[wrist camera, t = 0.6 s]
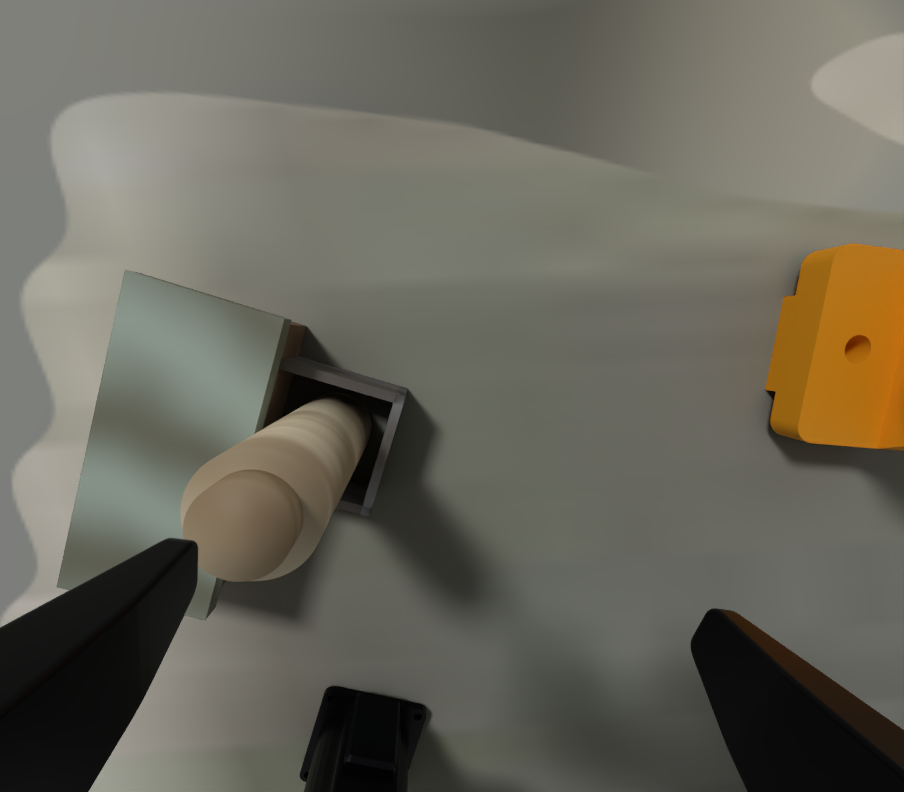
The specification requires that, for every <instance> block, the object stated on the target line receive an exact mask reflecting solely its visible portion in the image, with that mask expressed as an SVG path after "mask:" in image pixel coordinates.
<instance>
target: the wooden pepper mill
mask: <svg viewBox="0 0 904 792" xmlns="http://www.w3.org/2000/svg"><path fill="white" fill-rule="evenodd" d="M371 430H372V425H371V419H370V416H369V413H368V411H367V410H366V408H365V407H364V406H363V404H362V403H361V402H359V401H358V400H357V399H355V398H354V397H352V396H350V395H347V394H344V393H337V392H334V393H326V394H323V395H321V396H318V397H317V398H315V399H313V400H312V401H310V402H308V403H306V404H305V405H303V406H301V407H300V408H298V409H296V410H295V411H293V412H291V413H289V414H288V415H286V416H284V417H283V418H281V419H279V420H278V421H276V422H274V423H272V424H271V425H269V426H267V427H266V428H264V429H262V430H261V431H259V432H257V433H255V434H254V435H252V436H250V437H249V438H247V439H245V440H244V441H242V442H240V443H238V444H237V445H235V446H233V447H232V448H230V449H228V450H227V451H225V452H223V453H221V454H220V455H218V456H216V457H215V458H213V459H211V460H210V461H208V462H207V463H205V464H204V465H203V466H202V467H201V468H200V469H199V470H198V471H197V472H196V473H195V474H194V475H193V477H192V478H191V479H190V481H189V482H188V484H187V487H186V489H185V491H184V494H183V497H182V501H181V508H180V517H181V525H182V529H183V538H184V539H187V540H193V541H195V542H196V543H197V545H198V566H199V567H200V568H202V569H203V570H204V571H206V572H207V573H209V574H211V575H212V576H215V577H217V578H220V579H223V580H227V581H232V582H247V581H265V580H270V579H275V578H278V577H281V576H283V575H286V574H288V573H290V572H292V571H293V570H295V569H297V568H298V567H299V566H300V565H302V564H303V563H304V562H305V561H306V560H307V559H308V558H309V557H310V556H311V554H312V553H313V552H314V550H315V549H316V547H317V545H318V543H319V541H320V539H321V537H322V535H323V533H324V531H325V529H326V527H327V525H328V523H329V521H330V519H331V517H332V515H333V513H334V511H335V509H336V507H337V505H338V503H339V500H340V498H341V496H342V494H343V492H344V490H345V488H346V486H347V484H348V482H349V480H350V478H351V476H352V474H353V472H354V470H355V468H356V466H357V464H358V462H359V460H360V458H361V456H362V454H363V452H364V450H365V448H366V446H367V444H368V442H369V439H370V436H371Z"/></svg>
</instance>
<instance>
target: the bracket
mask: <svg viewBox="0 0 904 792" xmlns="http://www.w3.org/2000/svg"><path fill="white" fill-rule="evenodd" d="M765 390H769V391H776V393H775V398H774V403H773V408H772V413H771V418H770V423H771V427H772V429H773V430H774V431H775V432H776V433H777V434H779V435H782V436H786V437H790V438H793V439H797V440H801V441H804V442H808V443H815V444H827V445H839V446H851V447H863V448H875V449H887V450H899V451H904V250H899V249H891V248H883V247H876V246H868V245H861V244H847V245H843V246H838V247H833V248H829V249H824V250H820V251H815V252H812V253H811V254H809V255H808V256H807V257H806V258H805V259H804V261H803V263H802V266H801V270H800V275H799V280H798V285H797V290H796V295H794V296H785V297H784V298H783V303H782V308H781V313H780V318H779V323H778V329H777V334H776V339H775V344H774V349H773V354H772V359H771V364H770V369H769V374H768V379H767V384H766V389H765Z"/></svg>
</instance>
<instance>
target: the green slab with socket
mask: <svg viewBox="0 0 904 792" xmlns="http://www.w3.org/2000/svg"><path fill="white" fill-rule="evenodd" d="M306 327H307V326H304V325H301V324H298V323H294V322H291V320H290V319H287V318H284V317H281V316H277V315H274V314H271V313H268V312H264V311H261V310H258V309H255V308H251V307H248V306H245V305H242V304H238V303H235V302H232V301H229V300H225V299H222V298H219V297H216V296H213V295H209V294H206V293H203V292H200V291H196V290H193V289H190V288H187V287H183V286H180V285H177V284H174V283H170V282H167V281H164V280H161V279H157V278H154V277H151V276H148V275H144V274H141V273H137V272H132V271H128V270H125V272H124V276H123V281H122V286H121V290H120V295H119V300H118V304H117V309H116V314H115V318H114V323H113V327H112V332H111V337H110V341H109V346H108V351H107V355H106V360H105V365H104V369H103V374H102V379H101V383H100V388H99V393H98V397H97V402H96V407H95V411H94V416H93V420H92V425H91V430H90V434H89V439H88V444H87V448H86V453H85V458H84V462H83V467H82V472H81V476H80V481H79V486H78V490H77V495H76V500H75V504H74V509H73V513H72V518H71V523H70V527H69V532H68V537H67V541H66V546H65V551H64V555H63V560H62V565H61V569H60V574H59V579H58V583H57V587H58V588H63V589H67V590H71V589H73V588H75V587H77V586H78V585H80V584H82V583H84V582H86V581H88V580H90V579H92V578H93V577H95V576H97V575H99V574H101V573H103V572H105V571H106V570H108V569H110V568H112V567H114V566H116V565H118V564H119V563H121V562H123V561H125V560H127V559H129V558H131V557H132V556H134V555H136V554H138V553H140V552H142V551H144V550H145V549H147V548H149V547H151V546H153V545H155V544H157V543H158V542H160V541H162V540H164V539H167V538H179V539H184V538H183V529H182V525H181V517H180V508H181V501H182V497H183V494H184V491H185V489H186V487H187V484H188V482H189V481H190V479H191V478H192V477H193V475H194V474H195V473H196V472H197V471H198V470H199V469H200V468H201V467H202V466H203V465H204V464H205V463H207V462H208V461H210V460H211V459H213V458H215V457H216V456H218V455H220V454H221V453H223V452H225V451H227V450H228V449H230V448H232V447H233V446H235V445H237V444H238V443H240V442H242V441H244V440H245V439H247V438H249V437H250V436H252V435H254V434H255V433H257V432H259V431H261V430H262V429H264V428H266V427H267V426H269V425H271V424H272V423H274V422H276V421H278V420H279V419H281V418H282V417H283V413H284V409H285V405H286V402H287V398H288V394H289V390H290V387H291V383H292V379H293V376H294V374H298V375H301V376H304V377H308V378H311V379H315V380H318V381H321V382H325V383H328V384H332V385H335V386H338V387H342V388H345V389H349V390H352V391H355V392H359V393H362V394H365V395H369V396H372V397H376V398H379V399H382V400H386V401H389V402H393V406H392V409H391V412H390V416H389V419H388V422H387V426H386V429H385V432H384V436H383V439H382V443H381V446H380V449H379V453H378V456H377V459H376V463H375V466H374V469H373V473H372V476H371V479H370V483H369V485H366V484H363V483H359V482H355V481H352V480H349V482H348V484H347V486H346V488H345V490H344V492H343V494H342V496H341V498H340V500H339V503H338V505H337V507H336V509H340V510H344V511H347V512H351V513H355V514H359V515H363V516H367V517H370V513H371V510H372V507H373V503H374V500H375V497H376V494H377V490H378V487H379V484H380V480H381V477H382V474H383V470H384V467H385V464H386V460H387V457H388V454H389V451H390V447H391V444H392V441H393V437H394V434H395V431H396V427H397V424H398V421H399V417H400V414H401V411H402V407H403V404H404V401H405V398H406V394H407V390H408V389H407V388H404V387H400V386H397V385H394V384H390V383H387V382H384V381H380V380H377V379H374V378H370V377H367V376H364V375H360V374H357V373H354V372H350V371H347V370H344V369H340V368H337V367H334V366H330V365H327V364H324V363H320V362H317V361H314V360H310V359H307V358H304V357H300V356H299V353H300V350H301V346H302V342H303V338H304V335H305V331H306ZM225 581H226V580H223V579H220V578H217V577H215V576H212V575H211V574H209V573H207V572H206V571H204V570H203V569H202V568H200V567H199V566H198V581H197V587H196V590H195V593H194V596H193V598H192V600H191V602H190V604H189V606H188V608H187V611H186V613H185V615H184V616H189V617H193V618H198V619H202V620H206V619H207V617H208V616H209V615H210V614H211V612H212V611H213V610H214V608H215V607H216V604H217V600H218V596H219V592H220V588H221V587H222V585H223V584H224V583H225Z"/></svg>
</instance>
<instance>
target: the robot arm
mask: <svg viewBox="0 0 904 792" xmlns="http://www.w3.org/2000/svg"><path fill="white" fill-rule="evenodd" d="M197 581H198V545H197V543H196V542H195V541H193V540H187V539H179V538H167V539H164V540H162V541H160V542H158V543H157V544H155V545H153V546H151V547H149V548H147V549H145V550H144V551H142V552H140V553H138V554H136V555H134V556H132V557H131V558H129V559H127V560H125V561H123V562H121V563H119V564H118V565H116V566H114V567H112V568H110V569H108V570H106V571H105V572H103V573H101V574H99V575H97V576H95V577H93V578H92V579H90V580H88V581H86V582H84V583H82V584H80V585H78V586H77V587H75V588H73V589H71V590H69V591H67V592H65V593H64V594H62V595H60V596H58V597H56V598H54V599H52V600H51V601H49V602H47V603H45V604H43V605H41V606H39V607H38V608H36V609H34V610H32V611H30V612H28V613H26V614H25V615H23V616H21V617H19V618H17V619H15V620H13V621H12V622H10V623H8V624H6V625H4V626H2V627H0V792H88V791H89V790H90V788H91V786H92V785H93V783H94V781H95V780H96V778H97V776H98V775H99V773H100V771H101V770H102V768H103V766H104V765H105V763H106V761H107V760H108V758H109V756H110V755H111V753H112V751H113V750H114V748H115V746H116V745H117V743H118V742H119V740H120V738H121V737H122V735H123V733H124V732H125V730H126V728H127V727H128V725H129V723H130V722H131V720H132V718H133V716H134V715H135V713H136V711H137V709H138V708H139V706H140V704H141V702H142V700H143V699H144V697H145V695H146V693H147V691H148V689H149V687H150V685H151V683H152V681H153V679H154V677H155V674H156V672H157V670H158V668H159V666H160V664H161V662H162V660H163V658H164V656H165V654H166V652H167V650H168V648H169V646H170V644H171V641H172V639H173V637H174V635H175V633H176V631H177V629H178V627H179V625H180V623H181V621H182V619H183V617H184V615H185V613H186V611H187V608H188V606H189V604H190V602H191V600H192V598H193V596H194V593H195V590H196V587H197ZM691 652H692V656H693V658H694V661H695V664H696V666H697V669H698V672H699V674H700V677H701V680H702V682H703V685H704V687H705V690H706V693H707V695H708V698H709V701H710V703H711V706H712V709H713V711H714V714H715V717H716V719H717V722H718V725H719V727H720V730H721V732H722V735H723V738H724V740H725V743H726V745H727V748H728V750H729V752H730V755H731V757H732V759H733V761H734V764H735V766H736V768H737V770H738V772H739V775H740V777H741V779H742V781H743V783H744V785H745V788H746V790H747V792H904V730H903V729H901V728H900V727H899V726H897V725H896V724H894V723H893V722H891V721H890V720H889V719H887V718H886V717H884V716H883V715H881V714H880V713H879V712H877V711H876V710H874V709H873V708H872V707H870V706H869V705H867V704H866V703H864V702H863V701H862V700H860V699H859V698H857V697H856V696H854V695H853V694H852V693H850V692H849V691H847V690H846V689H844V688H843V687H842V686H840V685H839V684H837V683H836V682H835V681H833V680H832V679H830V678H829V677H827V676H826V675H825V674H823V673H822V672H820V671H819V670H817V669H816V668H815V667H813V666H812V665H810V664H809V663H808V662H806V661H805V660H803V659H802V658H800V657H799V656H798V655H796V654H795V653H793V652H792V651H790V650H789V649H788V648H786V647H785V646H783V645H782V644H780V643H779V642H778V641H776V640H775V639H773V638H772V637H771V636H769V635H768V634H766V633H765V632H763V631H762V630H761V629H759V628H758V627H756V626H755V625H753V624H752V623H751V622H749V621H748V620H746V619H745V618H743V617H742V616H741V615H739V614H738V613H736V612H734V611H730V610H724V609H716V608H714V609H710V610H709V611H707V613H706V614H705V616H704V618H703V619H702V621H701V623H700V625H699V626H698V628H697V630H696V632H695V634H694V635H693V637H692V639H691ZM330 695H333V696H335V697H330ZM417 713H419V715H416V714H417ZM425 719H426V709H425V707H424V706H423V705H420V704H416V703H411V702H406V701H402V700H397V699H392V698H387V697H383V696H378V695H373V694H369V693H364V692H359V691H354V690H350V689H345V688H340V687H335V686H331V687H328V688H327V689H326V690H325V693H324V696H323V699H322V702H321V706H320V709H319V712H318V716H317V719H316V722H315V725H314V729H313V732H312V735H311V738H310V742H309V745H308V748H307V752H306V755H305V758H304V761H303V765H302V768H301V772H300V778H301V780H303V781H305V782H306V786H305V790H304V792H407V782H408V769H409V766H410V763H411V760H412V757H413V754H414V751H415V748H416V745H417V742H418V740H419V737H420V734H421V731H422V728H423V725H424V722H425Z"/></svg>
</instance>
